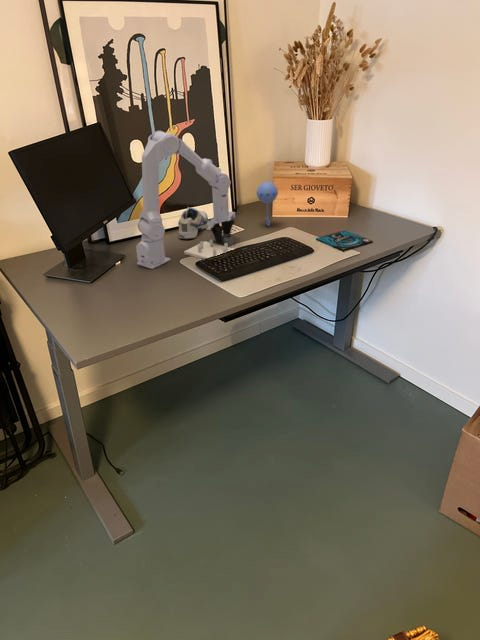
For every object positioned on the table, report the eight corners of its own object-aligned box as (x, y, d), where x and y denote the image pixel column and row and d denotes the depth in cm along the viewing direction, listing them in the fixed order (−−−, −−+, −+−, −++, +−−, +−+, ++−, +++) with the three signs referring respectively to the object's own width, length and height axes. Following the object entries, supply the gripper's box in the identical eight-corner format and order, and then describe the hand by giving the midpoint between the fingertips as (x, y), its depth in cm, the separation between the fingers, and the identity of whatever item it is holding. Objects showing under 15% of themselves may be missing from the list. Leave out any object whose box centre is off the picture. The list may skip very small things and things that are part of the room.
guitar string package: (343, 249, 175) (316, 238, 186) (342, 253, 176) (315, 241, 187) (372, 240, 182) (345, 230, 193) (372, 244, 182) (344, 233, 194)
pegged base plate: (218, 263, 170) (217, 253, 168) (184, 253, 179) (183, 244, 177) (238, 252, 178) (238, 243, 177) (205, 243, 187) (204, 235, 185)
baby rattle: (254, 223, 205) (253, 180, 196) (273, 220, 207) (273, 178, 198) (261, 229, 198) (260, 185, 189) (280, 227, 200) (281, 183, 191)
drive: (234, 244, 186) (234, 234, 184) (228, 247, 183) (228, 237, 181) (217, 240, 189) (216, 230, 187) (211, 244, 187) (210, 234, 185)
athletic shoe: (211, 220, 209) (203, 194, 204) (202, 241, 190) (193, 212, 184) (190, 226, 212) (181, 200, 206) (179, 246, 192) (168, 218, 186)
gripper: (217, 212, 171) (219, 248, 178) (241, 202, 181) (242, 236, 188) (201, 209, 175) (204, 244, 182) (226, 199, 185) (227, 233, 192)
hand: (222, 240), depth 185 cm, fingers closed on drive, 4 cm apart
